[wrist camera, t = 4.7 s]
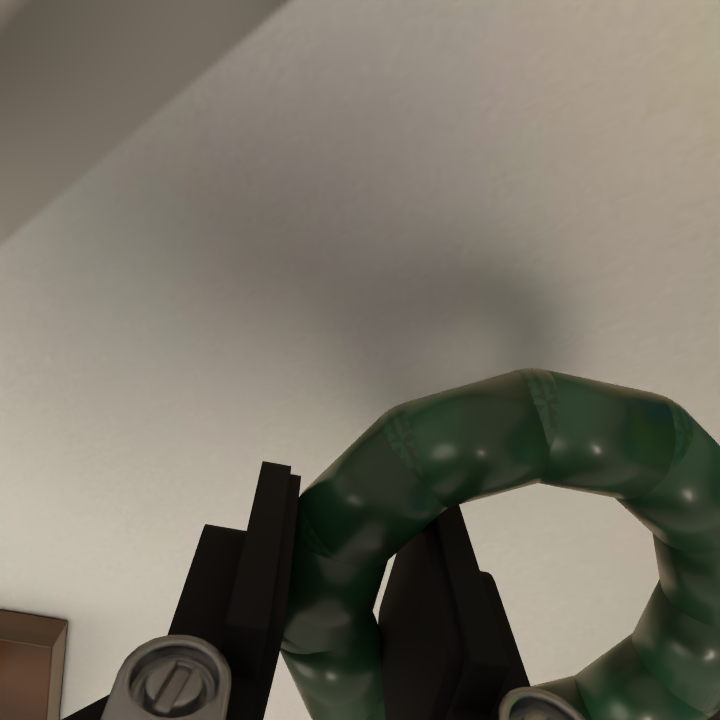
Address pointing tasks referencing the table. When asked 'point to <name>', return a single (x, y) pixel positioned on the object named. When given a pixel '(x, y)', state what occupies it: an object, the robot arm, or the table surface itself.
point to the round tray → (715, 716)
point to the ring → (500, 474)
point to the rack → (31, 666)
